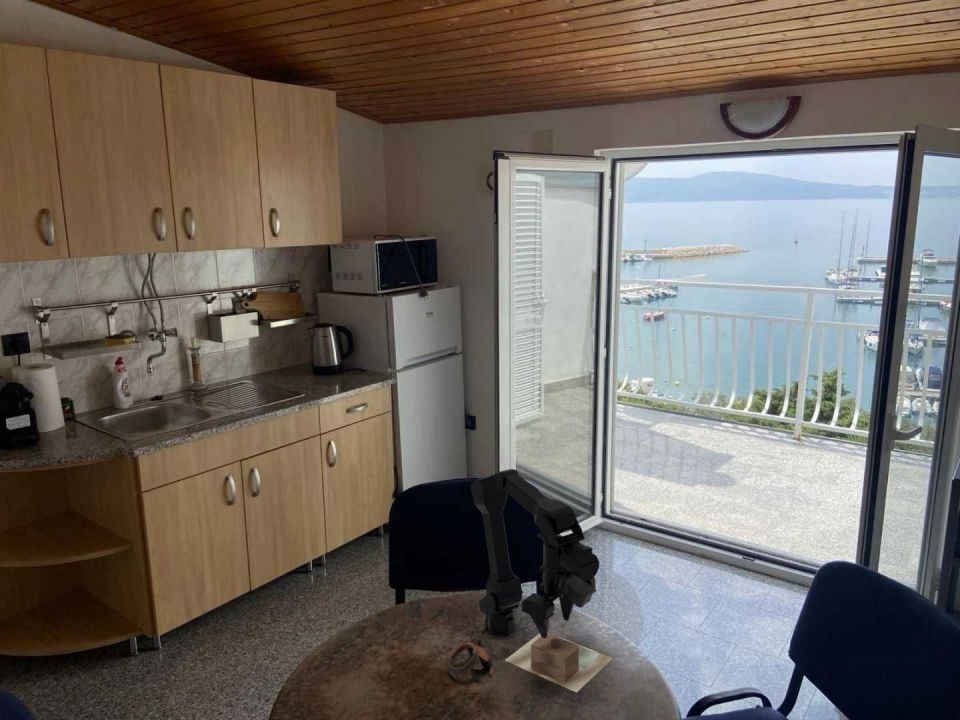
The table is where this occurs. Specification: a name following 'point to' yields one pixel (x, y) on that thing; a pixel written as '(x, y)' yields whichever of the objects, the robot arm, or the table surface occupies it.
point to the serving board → (588, 668)
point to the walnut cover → (555, 658)
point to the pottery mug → (475, 662)
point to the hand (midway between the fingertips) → (555, 628)
